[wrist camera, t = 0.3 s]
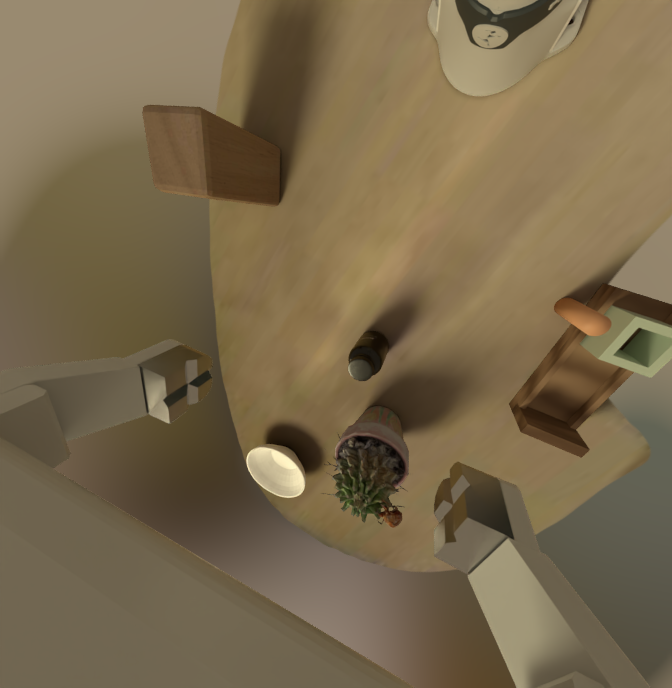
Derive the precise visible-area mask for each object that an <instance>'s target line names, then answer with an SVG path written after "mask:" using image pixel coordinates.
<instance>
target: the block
mask: <svg viewBox="0 0 672 688" xmlns="http://www.w3.org/2000/svg"><path fill="white" fill-rule="evenodd" d="M142 113H143V119H144V125H145V132H146V138H147V144H148V150H149V156H150V163H151V169H152V175H153V181H154V185H155V186H156V188H157V189H159V190H161V191H162V192H166V193H173V194H181V195H188V196H194V197H202V198H208V199H216V200H225V201H233V202H241V203H249V204H258V205H266V206H277V205H278V204H279V197H280V156H281V153H280V149H279V148H278V147H277V146H275V145H274V144H272V143H270V142H268V141H266V140H264V139H262V138H260V137H258V136H256V135H254V134H252V133H250V132H248V131H246V130H244V129H242V128H240V127H238V126H236V125H234V124H232V123H230V122H228V121H226V120H224V119H222V118H220V117H218V116H216V115H214V114H212V113H210V112H208V111H206V110H204V109H202V108H200V107H184V106H163V105H147V106H144V107H143V112H142Z"/></svg>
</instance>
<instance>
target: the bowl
mask: <svg viewBox="0 0 672 688" xmlns="http://www.w3.org/2000/svg"><path fill="white" fill-rule="evenodd" d="M247 467H248V470H249V472H250V473H251V475H252V477H253V478H254V479H255V480H256V481H257V483H258V484H260V485H261V486H262V487H263V488H265V489H266V490H267V491H269V492H271V493H273V494H275V495H278V496H281V497H288V498H290V497H296V496H298V495H300V494H301V493H302V492H303V490H304V488H305V481H306V476H305V471H304V468H303V466H302V464H301V462H300V461H299V460H298V457H297V456H296V454H295V453H294V452H293V451H292V450H290V449H289V448H287V447H285V446H278V445H274V444H265V445H260V446H258V447H256V448H254V449H252V450H251V451H250V452H249V454H248V456H247Z"/></svg>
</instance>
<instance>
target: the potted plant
mask: <svg viewBox="0 0 672 688" xmlns="http://www.w3.org/2000/svg"><path fill="white" fill-rule="evenodd" d="M338 435H339V434H338ZM339 438H340V437H339ZM325 450H326V449H325ZM335 457H336V458H335V459H336V463H337V464H338V465H337V466H335V467H337V468H336V469H335V470H337V469H338V470H339V471H340V473H339V474H336V475H334V476H333V477H332V479H333V480H335V481H336V482H337V483H336V486H335V488H336V489H338V490H339V492H337V493H336V494H335V497H336V498H338V497H339V498H340V503H342V502H344V501H346V502H345V504H344V506H343V507H342V508H341V509H342V510H343V512H344V511H345V510H346V509H347V508H348V507H349V506H350V507H351V508H352V513H351V515H353V516H354V515H355V514H356V516H357V517H359V514H360V513H361V516H362V521H363V522H365V519H366V516H367V513H372V514H374V515H375V516H376V517H377V519H380V517H384V519H383V521H385V522H386V523H387V524H388V525H389V526H390V527H392V528H394V527H396V526H397V525H399V524H400V523H401V521H402V513H401V512H400V511H398V510H397V509H398V508H397V507H395V506H392V503H391V502H390V500H389V498H388V497H389V495H390V494H394V493H395V492H399V491H397V490H398V489H395V488H396V487H398V486H400V485H401V484H402V483H403V482H404V480H405V479H406V478H407V476H408V470H409V451H408V448H407V446H406V443H405V442H404V439H403V433H402V428H401V423H400V420H399V418H398V416H397V415H396V414H395V413H394V412H393V411H392V410H390V409H388V408H386V407H382V406H374V407H370V408H368V409H367V410H366V411H365V412H364V413H363V414H362V415H361V416H360V417H359V419H358V420H357V421H356V422H355V423H354V424H353V425H351V426H349V427H348V428H347V429H346V431H345V432H344V433H343V435H342V436H341V438H340V440H339V442H338V444H337V446H336V451H335ZM327 462H328V461H327ZM328 463H329V462H328ZM324 465H325V464H324ZM329 465H332V464H330V463H329ZM333 466H334V465H333ZM326 473H327V472H326ZM329 475H330V474H329ZM331 476H332V475H331ZM400 487H401V486H400ZM401 488H402V487H401ZM401 488H400V489H401ZM403 489H404V488H403ZM404 490H405V489H404ZM407 492H408V491H407ZM322 494H324V493H322ZM329 495H334V494H329ZM382 507H383V508H384V509H385V511H384V512H381V508H382ZM389 507H393V508H394V507H395V508H396V509H394V510H393V511H389V510H388V509H389ZM399 507H403V506H399ZM376 521H377V520H376ZM379 523H380V522H379ZM382 523H383V522H382ZM382 523H380V524H382Z"/></svg>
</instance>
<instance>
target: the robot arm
mask: <svg viewBox="0 0 672 688" xmlns="http://www.w3.org/2000/svg"><path fill="white" fill-rule="evenodd" d="M588 1H589V0H432V3H431V5H430V7H429V10H428V17H427V21H428V25H429V28H430V30H431V32H432V33H433V35H434V36H435V38H436V39H437V42H438V47H439V54H440V60H441V65H442V68H443V71H444V73H445V75H446V77H447V79H448V80H449V82H450V83H451V84H452V85H453V86H454V87H455V88H456V89H457V90H459V91H461V92H463V93H465V94H468V95H472V96H488V95H492V94H496V93H499V92H501V91H504V90H506V89H508V88H509V87H511V86H513V85H514V84H516V83H517V82H519V81H520V80H521V79H523V78H524V77H525V76H526V75H527V74H528V73H529V72H530V71H531V70H533V69H534V68H535V67H536V66H537V65H538V64H539V63H540V62H542V61H543V60H545V59H547V58H549V57H551V56H553V55H556V54H558V53H559V52H561V51H563V50H565V49H566V48H567V47H568V46H570V45H571V43H572V42H573V41H574V39H575V37H576V35H577V33H578V31H579V28H580V25H581V22H582V19H583V16H584V13H585V10H586V7H587V4H588ZM571 19H572V20H573V24H571V25H568V23H569V22H570V20H571ZM211 367H212V358H210V357H209V356H208V355H206V354H204V353H202V352H200V351H197V350H195V349H193V348H191V347H189V346H187V345H183V344H181V343H179V342H177V341H175V340H166V341H163V342H161V343H159V344H156V345H154V346H151V347H149V348H147V349H144V350H142V351H139V352H137V353H135V354H133V355H130V356H128V357H126V358H123V359H122V358H119V357H115V358H105V359H96V360H86V361H77V362H68V363H58V364H48V365H40V366H30V367H20V368H11V369H7V370H4V371H1V372H0V688H415V687H414V686H412V685H410V684H409V683H407V682H405V681H404V680H402V679H400V678H399V677H397V676H395V675H393V674H392V673H391V672H389V671H387V670H385V669H384V668H382V667H381V666H379V665H377V664H376V663H374V662H372V661H371V660H369V659H367V658H366V657H364V656H362V655H361V654H359V653H357V652H356V651H354V650H352V649H351V648H349V647H347V646H346V645H344V644H343V643H341V642H339V641H338V640H336V639H334V638H333V637H331V636H329V635H327V634H326V633H324V632H323V631H321V630H319V629H318V628H316V627H314V626H313V625H311V624H309V623H308V622H306V621H304V620H303V619H301V618H299V617H298V616H296V615H294V614H293V613H291V612H290V611H288V610H286V609H284V608H283V607H281V606H280V605H278V604H276V603H275V602H273V601H271V600H270V599H268V598H266V597H265V596H263V595H261V594H260V593H258V592H256V591H255V590H253V589H251V588H250V587H248V586H246V585H245V584H243V583H242V582H240V581H238V580H237V579H235V578H233V577H232V576H230V575H228V574H227V573H225V572H223V571H221V570H220V569H218V568H217V567H215V566H213V565H212V564H210V563H208V562H207V561H205V560H203V559H202V558H200V557H199V556H197V555H195V554H193V553H192V552H190V551H188V550H187V549H185V548H184V547H182V546H180V545H179V544H177V543H175V542H174V541H172V540H170V539H169V538H167V537H165V536H164V535H162V534H160V533H159V532H157V531H155V530H154V529H152V528H151V527H149V526H147V525H146V524H144V523H142V522H141V521H139V520H137V519H135V518H134V517H132V516H131V515H129V514H127V513H126V512H124V511H122V510H120V509H119V508H117V507H116V506H114V505H112V504H111V503H109V502H107V501H106V500H104V499H102V498H101V497H99V496H97V495H96V494H94V493H92V492H91V491H89V490H87V489H86V488H84V487H83V486H81V485H79V484H78V483H76V482H74V481H73V480H71V479H69V478H68V477H66V476H64V475H63V474H61V473H59V472H58V471H56V470H54V469H53V468H55V467H56V466H58V465H59V464H61V463H62V462H64V461H65V460H67V459H68V458H69V456H70V454H71V453H70V450H69V448H68V446H67V441H70V440H72V439H76V438H79V437H82V436H85V435H88V434H91V433H94V432H97V431H100V430H103V429H106V428H109V427H112V426H115V425H118V424H121V423H124V422H128V421H131V420H133V419H137V418H140V417H143V416H146V415H147V414H149V415H151V416H154V417H156V418H158V419H160V420H162V421H165V422H167V423H169V424H170V423H172V422H173V421H174V420H176V419H177V418H178V417H179V416H181V415H182V414H184V413H185V412H186V411H187V410H188V406H189V405H190V404H194V403H198V402H199V401H201V400H202V399H203V398H205V396H206V395H207V393H208V392H209V391H210V389H211V386H212V376H211V374H210V372H209V370H210V369H211ZM434 514H435V516H436V518H437V520H438V522H439V524H438V525H437V526H436V528H435V529H434V557H436V558H438V559H440V560H442V561H444V562H445V563H447V564H449V565H451V566H453V567H455V568H457V569H459V570H460V571H462V572H464V573H466V574H468V578H469V581H470V583H471V585H472V588H473V590H474V592H475V594H476V596H477V599H478V601H479V603H480V605H481V608H482V610H483V612H484V615H485V617H486V619H487V621H488V624H489V626H490V628H491V631H492V633H493V635H494V637H495V639H496V642H497V644H498V646H499V648H500V651H501V653H502V655H503V658H504V660H505V662H506V664H507V667H508V669H509V671H510V673H511V676H512V678H513V680H514V683H515V685H516V687H517V688H651V687H650V686H649V685H648V684H647V682H646V681H645V680H644V678H643V677H642V676H641V674H640V673H639V672H638V671H637V669H636V668H635V667H634V665H633V664H632V663H631V662H630V660H629V659H628V658H627V656H626V655H625V654H624V653H623V651H622V650H621V649H620V648H619V646H618V645H617V644H616V643H615V641H614V640H613V639H612V637H611V636H610V635H609V634H608V632H607V631H606V630H605V629H604V627H603V626H602V625H601V623H600V622H599V621H598V619H597V618H596V617H595V616H594V614H593V613H592V612H591V611H590V609H589V608H588V607H587V606H586V604H585V603H584V602H583V600H582V599H581V598H580V596H579V595H578V594H577V593H576V591H575V590H574V589H573V588H572V586H571V585H570V584H569V583H568V581H567V580H566V579H565V577H564V576H563V575H562V573H561V572H560V571H559V570H558V568H557V567H556V566H555V565H554V563H553V562H552V561H551V559H550V558H549V557H548V556H547V555H545V554H543V553H541V552H540V549H539V546H538V543H537V540H536V537H535V534H534V531H533V528H532V525H531V522H530V519H529V516H528V513H527V510H526V507H525V504H524V501H523V498H522V495H521V492H520V490H519V488H518V487H517V486H516V485H514V484H511V483H509V482H506V481H504V480H502V479H499V478H497V477H493V476H491V475H489V474H486V473H484V472H482V471H479V470H477V469H474V468H472V467H470V466H467V465H465V464H462V463H460V462H456V463H455V464H454V465H453V466H452V467H451V469H450V478H447V479H444V480H443V481H442V482H441V484H440V486H439V487H438V490H437V493H436V496H435V503H434Z"/></svg>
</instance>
